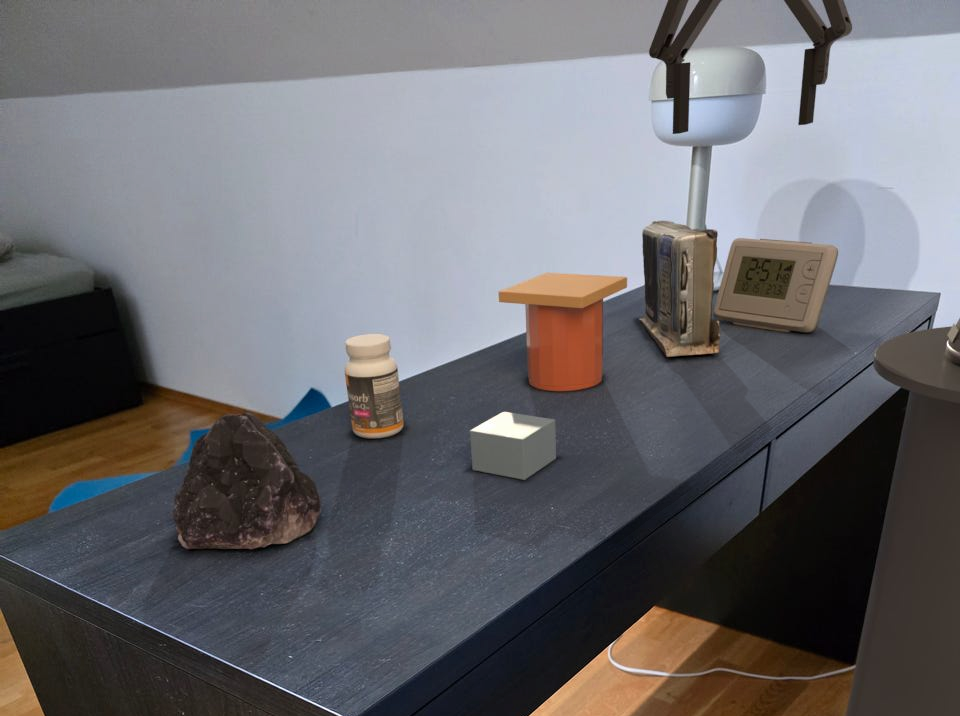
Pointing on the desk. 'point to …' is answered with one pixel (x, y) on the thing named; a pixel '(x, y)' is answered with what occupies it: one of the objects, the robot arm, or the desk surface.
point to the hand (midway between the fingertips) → (740, 129)
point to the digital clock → (775, 284)
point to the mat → (563, 290)
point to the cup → (564, 346)
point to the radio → (680, 288)
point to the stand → (513, 445)
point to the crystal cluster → (243, 489)
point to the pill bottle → (373, 387)
